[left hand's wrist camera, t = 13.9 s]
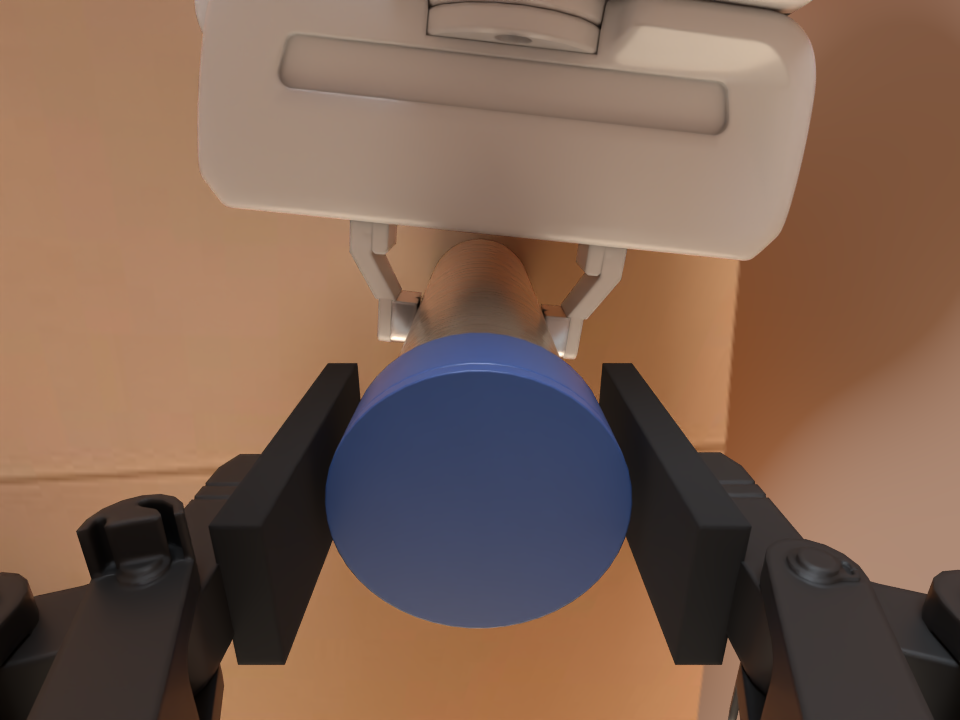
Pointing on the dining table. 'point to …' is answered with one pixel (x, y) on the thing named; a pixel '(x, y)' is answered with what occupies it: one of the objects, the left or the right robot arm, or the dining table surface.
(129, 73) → the dining table surface
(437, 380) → the lid
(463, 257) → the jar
